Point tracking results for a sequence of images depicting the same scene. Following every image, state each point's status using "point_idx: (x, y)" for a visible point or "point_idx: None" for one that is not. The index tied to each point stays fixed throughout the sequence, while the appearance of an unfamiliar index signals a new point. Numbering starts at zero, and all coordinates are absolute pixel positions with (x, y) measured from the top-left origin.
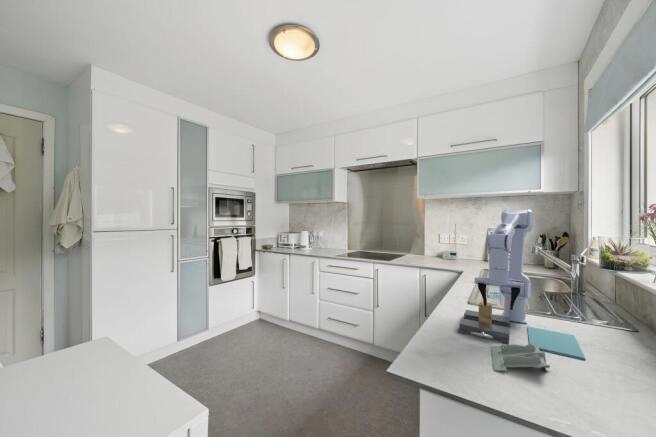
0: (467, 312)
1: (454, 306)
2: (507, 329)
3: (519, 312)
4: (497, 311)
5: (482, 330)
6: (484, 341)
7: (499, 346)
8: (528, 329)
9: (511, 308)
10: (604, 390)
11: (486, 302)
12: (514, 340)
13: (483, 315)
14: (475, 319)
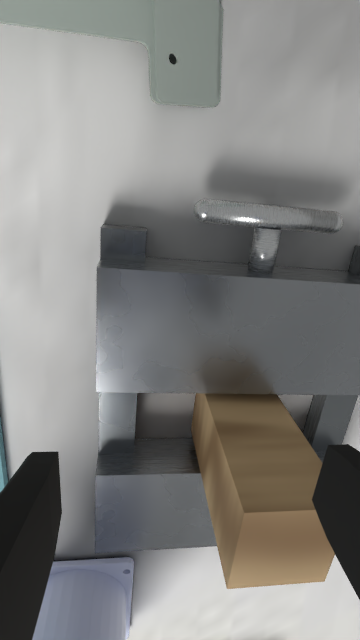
0: None
1: (347, 586)
2: (108, 353)
3: (40, 631)
4: (154, 630)
5: (269, 274)
6: (249, 186)
7: (165, 83)
8: (1, 490)
9: (35, 461)
10: None
11: (336, 500)
12: (72, 307)
13: (272, 435)
14: None
